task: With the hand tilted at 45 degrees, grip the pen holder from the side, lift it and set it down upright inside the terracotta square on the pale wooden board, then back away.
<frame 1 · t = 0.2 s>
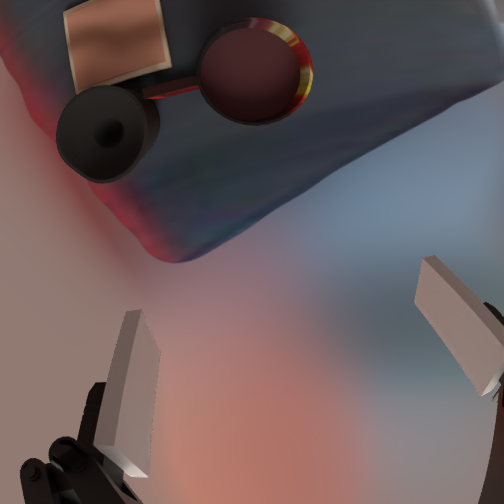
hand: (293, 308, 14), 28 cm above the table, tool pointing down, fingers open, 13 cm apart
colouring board: (115, 36, 28), on the table
pen holder: (126, 125, 34), on the table
mug: (226, 89, 33), on the table
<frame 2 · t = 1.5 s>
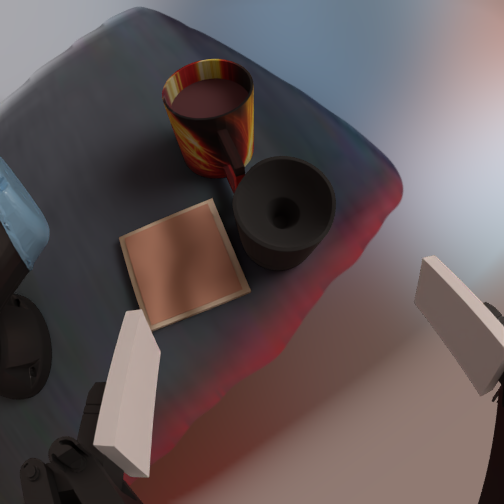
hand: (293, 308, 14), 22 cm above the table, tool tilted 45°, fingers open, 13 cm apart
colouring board: (181, 265, 36), on the table
pen holder: (277, 236, 38), on the table
mug: (229, 157, 41), on the table
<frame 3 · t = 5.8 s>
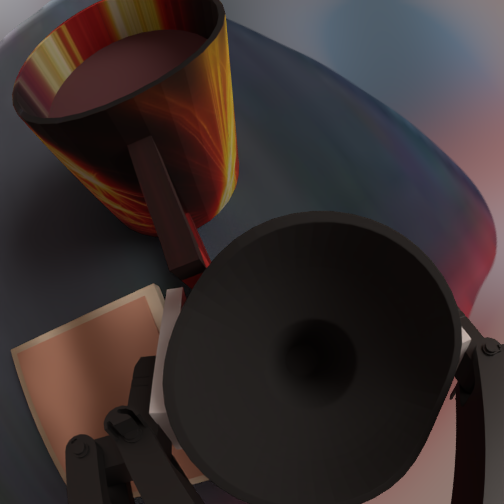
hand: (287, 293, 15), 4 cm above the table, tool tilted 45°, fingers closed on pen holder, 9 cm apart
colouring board: (112, 409, 17), on the table
pen holder: (290, 354, 18), on the table, touching gripper
mug: (191, 189, 21), on the table, touching gripper
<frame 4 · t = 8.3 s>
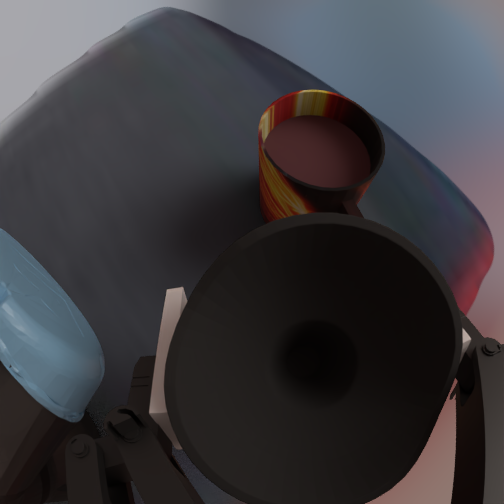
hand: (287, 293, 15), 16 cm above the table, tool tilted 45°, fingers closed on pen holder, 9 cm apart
pen holder: (291, 355, 18), point 12 cm above the table, touching gripper
mug: (319, 214, 33), on the table
when the fingers open (7 cm above the table, at t = 10.7 s): pen holder drops 1 cm, resting on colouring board.
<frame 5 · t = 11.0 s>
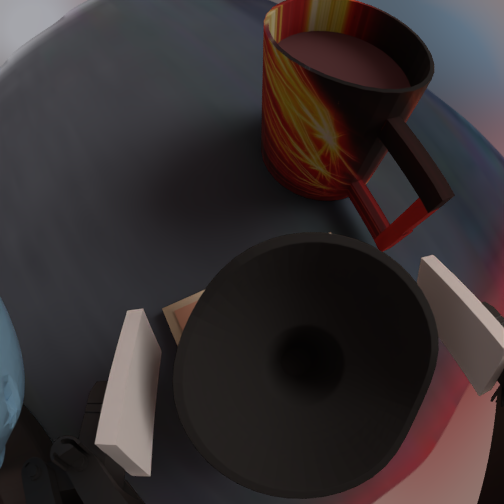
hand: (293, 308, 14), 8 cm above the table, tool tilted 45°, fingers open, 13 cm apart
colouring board: (286, 352, 20), on the table
pen holder: (286, 356, 19), point 1 cm above the table, touching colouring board
mug: (339, 164, 24), on the table
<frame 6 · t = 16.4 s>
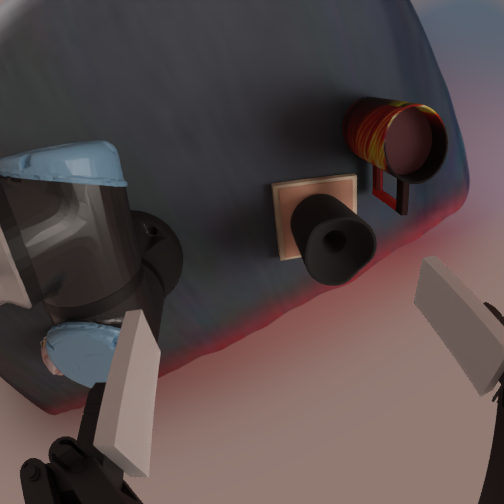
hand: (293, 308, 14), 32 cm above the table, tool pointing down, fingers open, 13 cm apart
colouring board: (316, 215, 47), on the table
pen holder: (317, 219, 46), point 1 cm above the table, touching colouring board
cupcake: (68, 336, 53), on the table
mug: (377, 140, 42), on the table
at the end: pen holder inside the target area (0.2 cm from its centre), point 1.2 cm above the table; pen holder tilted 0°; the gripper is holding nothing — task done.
